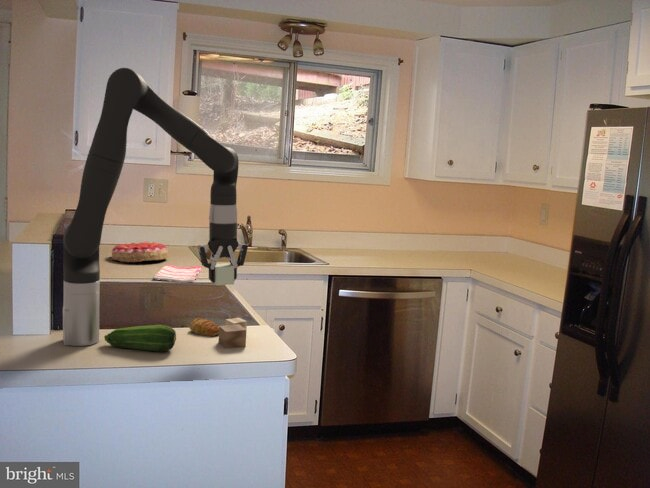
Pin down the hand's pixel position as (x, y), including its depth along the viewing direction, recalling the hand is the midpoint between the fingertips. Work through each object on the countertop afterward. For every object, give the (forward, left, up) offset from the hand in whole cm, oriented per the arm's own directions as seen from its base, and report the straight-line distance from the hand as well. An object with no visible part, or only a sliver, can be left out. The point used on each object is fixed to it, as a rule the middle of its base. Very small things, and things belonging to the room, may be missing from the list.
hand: (222, 281), depth 183 cm
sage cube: (0, 0, 0) cm, 0 cm away
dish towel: (+10, +95, -19) cm, 97 cm away
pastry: (-1, +14, -19) cm, 23 cm away
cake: (+1, +133, -19) cm, 135 cm away
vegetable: (-22, +3, -19) cm, 29 cm away
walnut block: (+3, 0, -19) cm, 19 cm away
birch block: (+7, +9, -18) cm, 22 cm away
